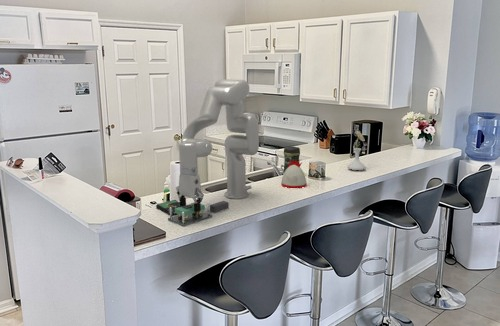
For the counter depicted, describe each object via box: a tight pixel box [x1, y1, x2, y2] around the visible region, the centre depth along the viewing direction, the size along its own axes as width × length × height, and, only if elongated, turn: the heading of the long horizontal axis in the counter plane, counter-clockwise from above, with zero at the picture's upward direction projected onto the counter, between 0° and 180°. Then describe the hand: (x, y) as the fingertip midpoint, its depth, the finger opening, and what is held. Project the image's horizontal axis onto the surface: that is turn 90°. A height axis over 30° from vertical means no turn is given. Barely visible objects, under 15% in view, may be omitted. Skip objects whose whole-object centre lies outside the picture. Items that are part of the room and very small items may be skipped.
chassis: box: [167, 203, 213, 227], centre depth 191 cm, size 16×11×6 cm
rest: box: [210, 200, 230, 214], centre depth 204 cm, size 9×4×3 cm, turn 138°
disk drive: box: [155, 199, 180, 217], centre depth 204 cm, size 10×3×15 cm
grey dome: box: [281, 159, 307, 189], centre depth 244 cm, size 14×14×15 cm
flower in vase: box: [347, 130, 367, 171], centre depth 281 cm, size 13×11×25 cm
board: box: [175, 202, 206, 216], centre depth 191 cm, size 12×6×3 cm, turn 138°
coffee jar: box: [282, 145, 301, 176], centre depth 263 cm, size 10×8×19 cm
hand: (190, 209), depth 191 cm, fingers open, 9 cm apart
